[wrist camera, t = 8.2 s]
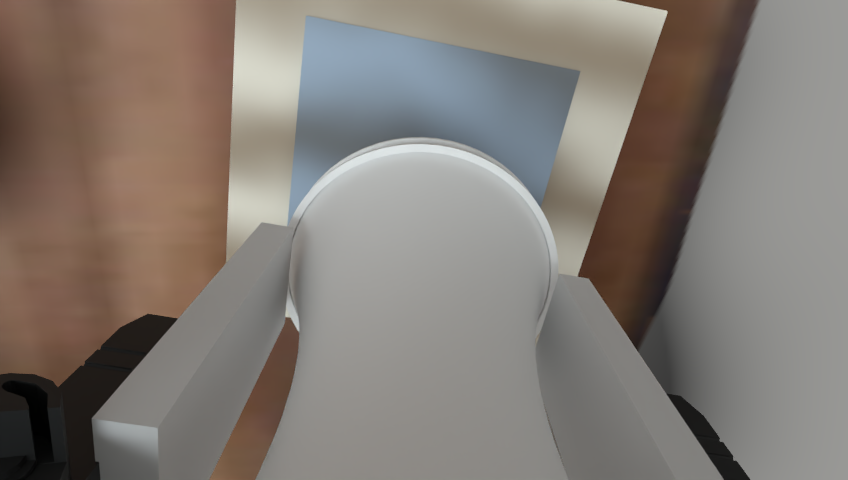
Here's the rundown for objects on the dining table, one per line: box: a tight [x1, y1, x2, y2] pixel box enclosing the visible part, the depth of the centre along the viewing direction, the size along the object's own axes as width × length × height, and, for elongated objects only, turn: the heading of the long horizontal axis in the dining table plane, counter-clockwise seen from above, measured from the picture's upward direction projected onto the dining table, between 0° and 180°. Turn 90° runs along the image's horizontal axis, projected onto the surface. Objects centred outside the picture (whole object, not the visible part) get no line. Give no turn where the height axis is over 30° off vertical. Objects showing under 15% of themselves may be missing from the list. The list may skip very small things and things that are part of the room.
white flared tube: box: [255, 137, 569, 480], centre depth 10 cm, size 8×8×10 cm
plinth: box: [226, 0, 668, 347], centre depth 25 cm, size 18×18×3 cm
